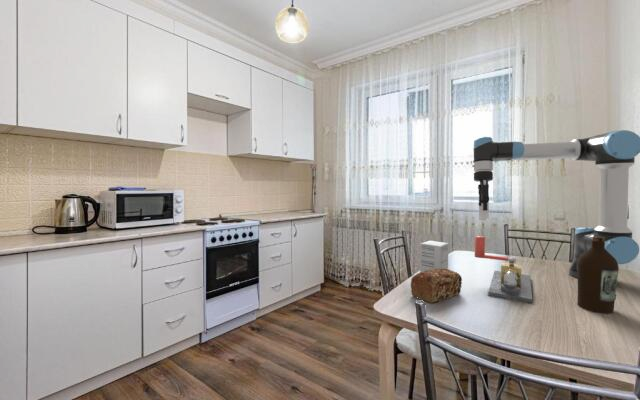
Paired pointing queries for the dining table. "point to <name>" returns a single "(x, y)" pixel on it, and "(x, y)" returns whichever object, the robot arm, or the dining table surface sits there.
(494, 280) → the valve pipe
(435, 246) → the supplement box
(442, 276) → the bread
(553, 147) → the robot arm
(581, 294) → the olive oil
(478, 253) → the lever
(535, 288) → the dining table surface
